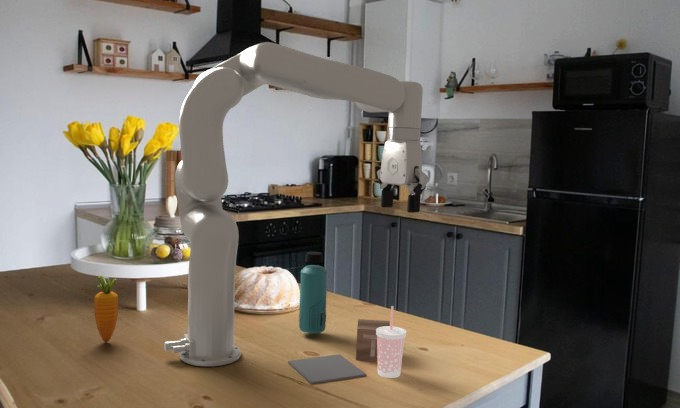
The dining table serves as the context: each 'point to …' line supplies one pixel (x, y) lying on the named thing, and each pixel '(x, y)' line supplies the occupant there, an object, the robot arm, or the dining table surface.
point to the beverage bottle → (313, 295)
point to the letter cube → (368, 339)
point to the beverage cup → (390, 349)
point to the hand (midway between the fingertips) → (399, 209)
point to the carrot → (106, 309)
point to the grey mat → (326, 369)
